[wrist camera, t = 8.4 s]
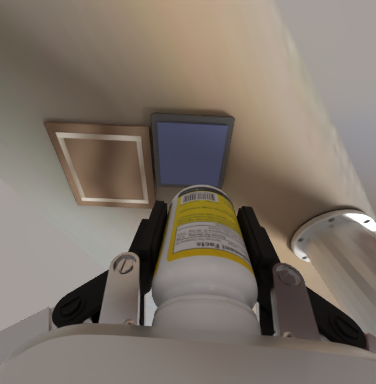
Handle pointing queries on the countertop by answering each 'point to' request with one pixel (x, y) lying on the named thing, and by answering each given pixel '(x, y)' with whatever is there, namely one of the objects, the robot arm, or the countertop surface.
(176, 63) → the countertop surface
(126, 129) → the marked board
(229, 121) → the ink pad
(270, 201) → the countertop surface
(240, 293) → the supplement bottle
